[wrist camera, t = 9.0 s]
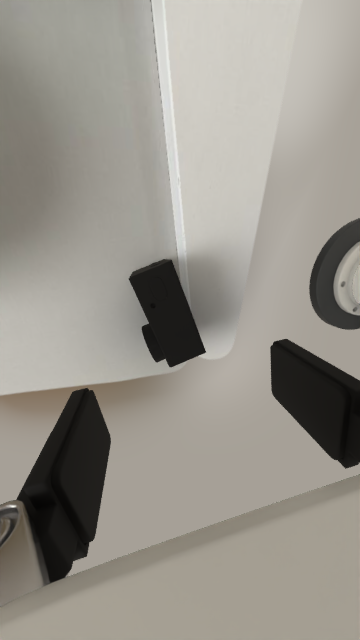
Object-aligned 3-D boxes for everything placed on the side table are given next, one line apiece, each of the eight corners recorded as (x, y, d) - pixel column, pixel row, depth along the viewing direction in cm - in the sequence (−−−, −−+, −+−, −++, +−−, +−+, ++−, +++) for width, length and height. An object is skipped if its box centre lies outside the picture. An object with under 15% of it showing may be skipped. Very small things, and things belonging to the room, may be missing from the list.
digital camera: (122, 274, 25) (115, 281, 18) (163, 258, 25) (171, 258, 18) (155, 345, 28) (159, 373, 22) (191, 330, 28) (206, 353, 22)
